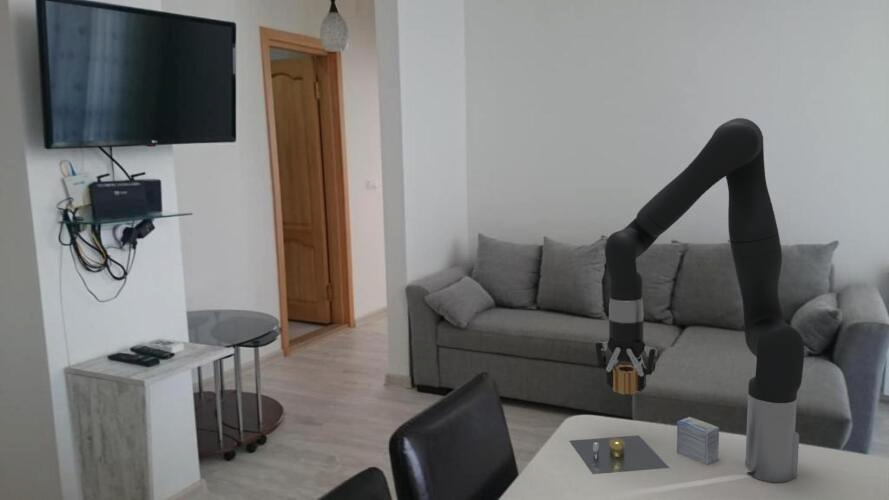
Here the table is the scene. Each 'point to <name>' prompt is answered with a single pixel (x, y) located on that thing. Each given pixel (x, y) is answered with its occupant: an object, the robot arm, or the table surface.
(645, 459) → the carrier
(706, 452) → the medicine box
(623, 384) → the planet gear
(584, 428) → the table surface
